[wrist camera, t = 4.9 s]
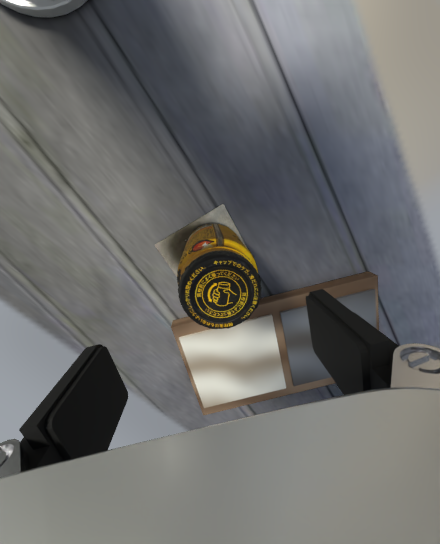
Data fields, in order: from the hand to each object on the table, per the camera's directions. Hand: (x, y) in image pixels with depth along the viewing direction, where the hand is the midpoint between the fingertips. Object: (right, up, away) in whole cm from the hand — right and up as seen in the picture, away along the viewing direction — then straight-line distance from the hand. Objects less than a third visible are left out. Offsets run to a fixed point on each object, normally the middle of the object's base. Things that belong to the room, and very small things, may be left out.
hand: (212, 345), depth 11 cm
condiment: (-1, +5, +15) cm, 16 cm away
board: (+8, -6, +19) cm, 22 cm away
